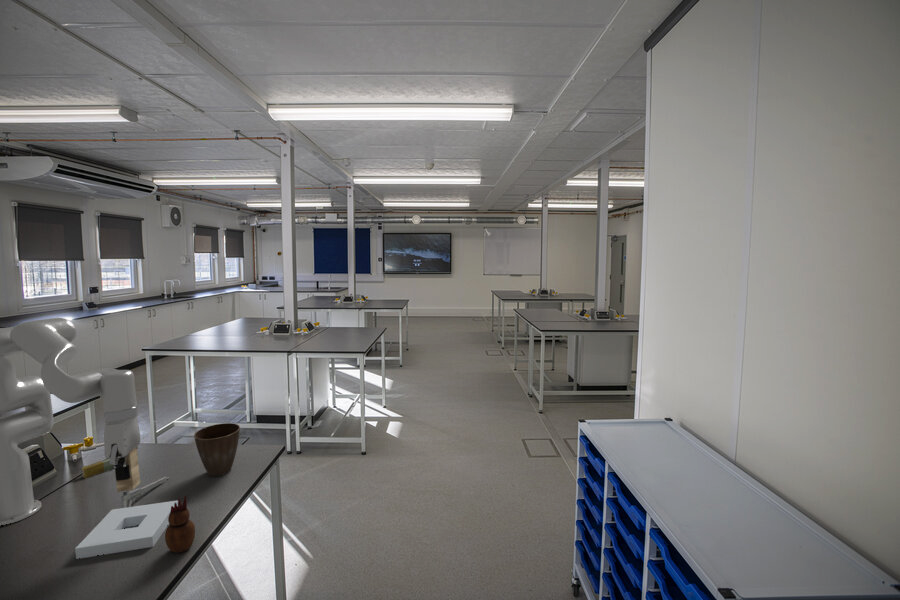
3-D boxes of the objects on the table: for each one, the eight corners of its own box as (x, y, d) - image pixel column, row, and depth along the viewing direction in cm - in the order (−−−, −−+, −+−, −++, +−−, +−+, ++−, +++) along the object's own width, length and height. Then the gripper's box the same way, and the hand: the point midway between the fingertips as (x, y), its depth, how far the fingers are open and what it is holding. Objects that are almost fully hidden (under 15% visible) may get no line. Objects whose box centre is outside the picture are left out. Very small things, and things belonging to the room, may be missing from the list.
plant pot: (237, 458, 166) (235, 419, 164) (246, 472, 154) (244, 431, 153) (194, 470, 157) (191, 429, 155) (200, 486, 145) (197, 443, 144)
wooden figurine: (200, 541, 116) (196, 490, 115) (187, 555, 111) (183, 502, 109) (175, 542, 116) (171, 491, 115) (162, 556, 110) (157, 503, 109)
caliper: (124, 512, 131) (123, 494, 130) (121, 512, 131) (119, 494, 130) (170, 478, 151) (168, 462, 151) (167, 478, 151) (165, 462, 151)
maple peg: (117, 491, 117) (112, 451, 116) (124, 484, 121) (120, 445, 120) (133, 489, 118) (129, 449, 117) (140, 482, 122) (136, 443, 121)
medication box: (121, 464, 163) (120, 454, 163) (124, 465, 162) (123, 455, 161) (82, 477, 154) (81, 467, 153) (84, 479, 152) (83, 468, 152)
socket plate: (76, 559, 110) (75, 548, 110) (112, 518, 127) (112, 509, 127) (153, 546, 114) (152, 536, 114) (178, 509, 132) (177, 500, 132)
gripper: (121, 405, 125) (127, 463, 126) (88, 426, 109) (95, 493, 110) (149, 403, 127) (155, 460, 128) (121, 423, 110) (127, 488, 112)
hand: (127, 474), depth 119 cm, fingers closed on maple peg, 4 cm apart
